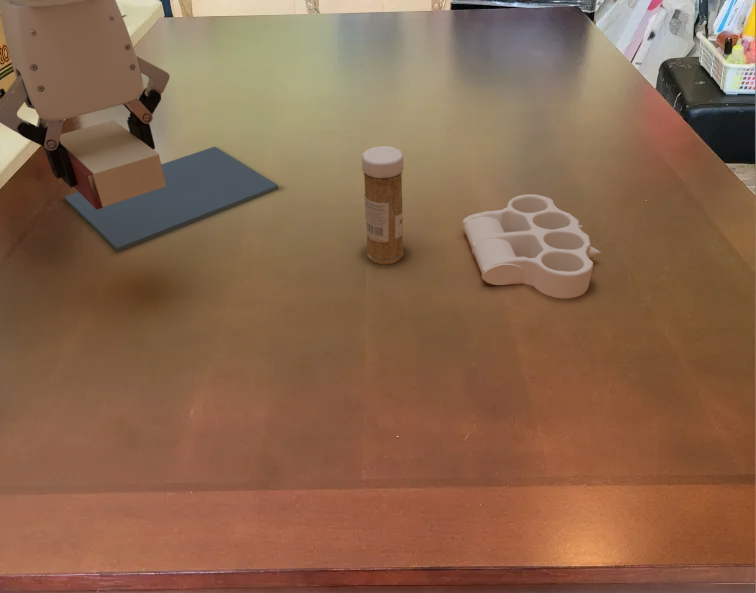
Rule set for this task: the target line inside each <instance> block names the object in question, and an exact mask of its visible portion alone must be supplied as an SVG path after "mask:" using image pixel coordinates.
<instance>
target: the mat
mask: <svg viewBox="0 0 756 593" xmlns="http://www.w3.org/2000/svg"><path fill="white" fill-rule="evenodd" d="M161 166H162V170H163V174H164V179H165V183H166V187H163V188H160V189H157V190H154V191H150V192H147V193H144V194H141V195H138V196H135V197H132V198H129V199H126V200H123V201H120V202H117V203H114V204H111V205H108V206H105V207H103V208H101V209H98V210H96V209H95V208H94V207H93V206H92V205H91V204H90V203H89V202H88V201H87V200H86V199H85V198H84V197H83V196H82V195H81V194H80V193H79V192H78V191H77V192H75V193H71V194H69V195H66V196H64V200H65V202H66V203H67V204H68V205H69V206H70V208H72V209H73V210H74V211H75V212H76V213H77V214H79V216H80V217H81V218H82V219H83V220H84V221H85V222H86V223H87V224H88V225H89V226H90V227H91V228H93V229H94V231H96V232H97V234H98V235H100V236H101V237H102V239H103V240H104V241H106V243H108V244H109V245H110V247H112V248H113V249H114V250H115V251H116V253H120V252H123V251H125V250H128V249H130V248H133V247H136V246H139V245H141V244H143V243H145V242H148V241H151V240H153V239H156V238H159V237H161V236H163V235H166V234H169V233H171V232H174V231H177V230H179V229H181V228H184V227H187V226H189V225H191V224H194V223H197V222H199V221H202V220H204V219H206V218H209V217H212V216H214V215H217V214H219V213H222V212H224V211H227V210H230V209H232V208H235V207H238V206H240V205H242V204H246V203H247V202H250V201H252V200H255V199H258V198H260V197H263V196H265V195H269V194H270V193H273V192H275V191H278V190H279V185H278V184H277V183H275V182H274V181H272V180H271V179H269V178H267V177H265V176H264V175H262V174H260V173H259V172H257V171H256V170H254V169H253V168H251V167H249V166H248V165H246V164H244V163H242V162H241V161H239V160H238V159H236V158H234V157H233V156H231V155H229V154H227V153H226V152H225V151H223V150H222V149H220V148H218V147H216V146H212V147H208V148H205V149H202V150H199V151H197V152H194V153H192V154H188V155H185V156H182V157H180V158H175V159H174V160H171V161H168V162H164V163H161Z"/></svg>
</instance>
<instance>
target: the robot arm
mask: <svg viewBox="0 0 756 593" xmlns="http://www.w3.org/2000/svg"><path fill="white" fill-rule="evenodd" d="M0 19H1V24H2V31H3V34H4V39H5V43H6V46H7V52H8V55H9V58H10V59H9V60H10V63H11V66H12V70H13V74H14V76H15V78H14V81H13V82H12V84H10V86H9V87H8V89H7V90H6V92H5V93H4V95H3V96H2V97H1V99H0V124H1V125H3V126H5V127H6V128H8V129H10V130H11V131H13V132H15V133H17V134H19V135H20V136H22V137H23V138H25V139H26V140H29V141H31V142H32V143H35V144H37V145H39V146H41V147H43V149H44V151H45V156H46V157H47V160H48V163H49V166H50V169H51V172H52V174H53V175H54V177H55V178H56V179H57V180H58V179H61V180H63V181H64V183H65V184H66V185H68V186H69V187H70V188H74V186H76V184H77V181H76V178H75V175H74V171H73V168H72V165H71V162H70V158H69V155H68V152H67V149H66V148H65V147H64V146H63V145H62V144H61V143H60V136H61V134H62V130H63V126H64V121H65V120H67V119H68V120H69V119H73V118H76V117H80V116H83V115H84V116H85V115H88V114H91V113H96V112H100V111H104V110H107V109H111V108H115V107H118V106H123V107H124V108H125V109H126V110H127V111H128V113H129V116H128V117H127V120H126V123H127V126H128V131H129V132H130V133H132V134H133V135H134V136H136V137H137V138H138V139H140V140H141V141H142V142H144V143H145V144H146V145H148V146H149V147H150V148H152V149H153V150H154V151H155V149H156V145H155V141H154V137H153V132H152V127H151V124H150V123H152V122H153V119H154V116H153V114H154V113H155V111H156V109H157V107H158V106H159V105H160V102H161V101H162V94H163V93H164V92H165V89H166V87H167V85H168V83H169V81H170V73H168V72H167V71H165V70H164V69H162V68H160V67H158V66H156V65H155V64H153V63H150V62H149V61H147V60H145V59H143V58H142V57H139V56H138V55H137V54H136V51H135V48H134V45H133V41H132V39H131V36H130V33H129V31H128V27H127V25H126V22H125V20H124V17H123V15H122V13H121V10H120V6H119V5H118V3H117V1H116V0H0ZM143 75H145V76H146V77H147V78H148V81H147V86H146V87H145V88H144V81H143ZM24 104H25V106H26V107H27V108H28V109H29V108H30V109H32V110H35V112H36V114H37V116H38V119H37V123H36V125H35V124H33V123H32V122H29V121H28V120H26V119H23V118H22V117H20V116H19V115H18V112H19V110H20V109H21V108H22V106H23V105H24Z"/></svg>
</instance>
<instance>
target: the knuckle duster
mask: <svg viewBox="0 0 756 593" xmlns="http://www.w3.org/2000/svg"><path fill="white" fill-rule="evenodd" d="M506 205H507V206H506V207H504V208H502V209H499V210H485V211H482V212H476V213H472V214H471V215H467V217H465V218H464V219H463V220H462V231H463V232H465V234H466V238H467V241H468V242H469V245H470V247H471V253H472V255H474V258H475V260H476V264H477V265H478V269H479V271H480V273H481V279H482V280H483V281H484V282H486V283H488V284H490V285H494V286H505V285H507V286H508V285H520V284H524V285H528V286H530V287H531V286H532V287H534V288H535V289H536V290H537V291H538V292H540V293H541V294H543V295H545V296H548V297H551V298H556V299H567V300H568V299H573V298H574V299H575V298H579V297H580V296H583V295H584V294H585V293H587V291H588V289H589V287H590V282H591V277H592V274H593V273H592V272H593V267H594V261H592V259H590V258H592V257H594V256H597V255H599V254H602V251H600V250H598V249H596V248H595V247H593V246H592V245H591V240H590V236H589V234H587V233H585V231H583V230H582V228H583V227H584V225H583V224H580V221H579V220H578V218H576V217H575V216H573V215H572V214H571V213H570V212H566V211H563V210H561V209H560V208H558V207H557V206H556V205H555V204H554V200H553V199H551V198H550V197H548V196H544V195H540V194H533V193H531V194H527V193H526V194H521V195H516V196H514V197H513V198H511V199H510V200H509V201H508V203H507V204H506Z"/></svg>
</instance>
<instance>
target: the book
mask: <svg viewBox="0 0 756 593" xmlns="http://www.w3.org/2000/svg"><path fill="white" fill-rule="evenodd" d="M60 143H61V144H62V145H63V146H64V147H65V148H66V149H67V152H68V155H69V158H70V162H71V165H72V168H73V171H74V175H75V178H76V181H77V184H76V186H74V187H73V188H74V189H75V190H76V191H77V192H79V193H80V194H81V195H82V196H83V197H84V198H85V199H86V200H87V201H88V202H89V203H90V204H91V205H92V206H93V207H94V208H95V209H96V210H98V209H101V208H103V207H105V206H108V205H111V204H114V203H117V202H120V201H123V200H126V199H129V198H132V197H135V196H138V195H141V194H144V193H147V192H150V191H154V190H157V189H160V188H163V187H166V183H165V179H164V174H163V170H162V166H161V164H162V161H161V157H160V153H158V152H157V151H155V149H154V150H153V149H152V148H150V147H149V146H148V145H146V144H145V143H144V142H142V141H141V140H140V139H138V138H137V137H136V136H134V135H133V134H132V133H130V131H129V129H126V127H124V126H122V125H121V124H120V123H119V122H117V121H116V120H114V119H113V120H110V121H105V122H102V123H99V124H95V125H91V126H87V127H83V128H79V129H75V130H72V131H68V132H64V133H61V136H60Z"/></svg>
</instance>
